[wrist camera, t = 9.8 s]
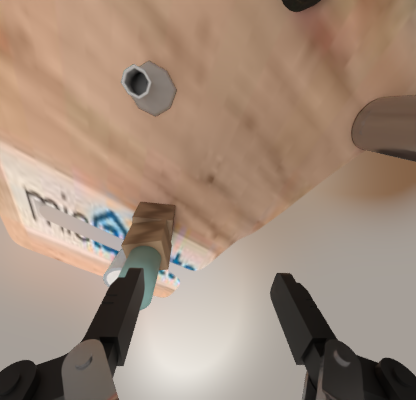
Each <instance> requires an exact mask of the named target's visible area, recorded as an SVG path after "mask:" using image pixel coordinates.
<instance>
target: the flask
mask: <svg viewBox="0 0 416 400" xmlns="http://www.w3.org/2000/svg"><path fill="white" fill-rule="evenodd" d="M121 83H122V85H123V87H124V88H125V90H126V91H127V93H128V94H129V95H131V96H132V98H133V100H134V101H135V103H136V104H137V106H138V108H139V109H141V110H143V111H145V112H147V113H149V114H151V115H153V116H155V117H156V116H158V115H159V114H161V113H163V112H164V111H166V110H168V109H169V108H170V107H171V105H172V102H173V99H174V96H175V94H176V91H177V90H176V88H175V86H174V84H173V82H172V80H171V78H170V76H169V74H168V72H167V71H166V70H165V69H163V68H161V67H159V66H158V65H156V64H154V63H152V62H151V61H147V62H146V63H144V64H143V65H141V66H140V67H138V66H136V65H135V64H133V65H131V66H130V67H128V68H127V69H125V70H124V72H123V76H122V80H121Z"/></svg>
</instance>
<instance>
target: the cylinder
mask: <svg viewBox="0 0 416 400" xmlns="http://www.w3.org/2000/svg"><path fill="white" fill-rule="evenodd" d="M160 263H161V255H160V253H159V252H158V251H157V250H156V249H154V248H152V247H150V246H138V247H136V248H134V249H132V251H131V252H130V254H129V256H128V258H127V260H126V262H125V264H124V266H123V268H122V270H121V272H120V274H119V276H118V277H125V276H126V273H127V271H128V269H129V268H143V269H144V281H145V291H144V297H143V300H142V304H141V307H140V310H142V309H144V308H146V307H147V306H148V305H149V304H150V303H151V299H152V295H153V291H154V287H155V283H156V279H157V275H158V271H159V267H160Z"/></svg>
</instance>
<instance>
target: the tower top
mask: <svg viewBox="0 0 416 400" xmlns="http://www.w3.org/2000/svg"><path fill="white" fill-rule="evenodd" d="M121 246H122V248H123V251H124V254H125V256H126V259H127V258H128V256H129V254H130V252H131V251H132V249H134V248H136V247H138V246H150V247H152V248H154V249H156V250H157V251H158V252H159V253H160V255H161V263H160V267H159V270H166V269H168V267H169V260H170V254H171V247H172V245H171V240H170V236H169V231H168V227H167V222H166V220H158V221H150V222H141V223H133V224H132V226H131V228H130V230H129V231H128V233H127V235H126V237H125V239H124V241H123V243H122V245H121Z"/></svg>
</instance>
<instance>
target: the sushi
mask: <svg viewBox="0 0 416 400" xmlns="http://www.w3.org/2000/svg"><path fill="white" fill-rule="evenodd" d="M282 1H283V4H284V5H285V6H286V7H287V8H288V9H289V10H291V11H294V12H298V11H302V10H304V9H306V8H309V7H311V6H313V5H315V4H316V3H318V2H319V1H321V0H282Z"/></svg>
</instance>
